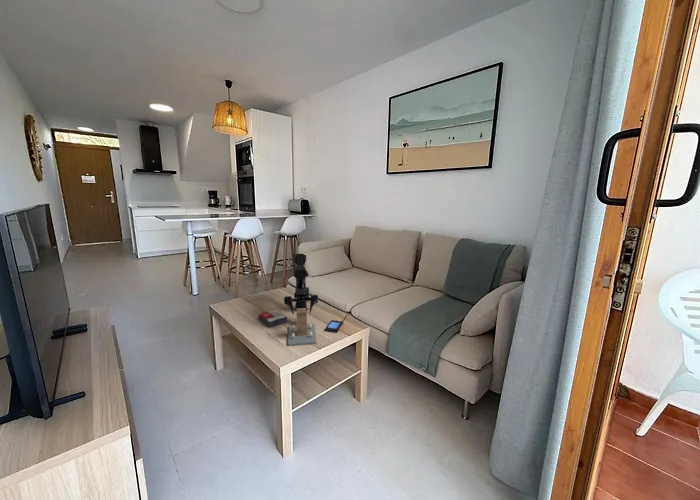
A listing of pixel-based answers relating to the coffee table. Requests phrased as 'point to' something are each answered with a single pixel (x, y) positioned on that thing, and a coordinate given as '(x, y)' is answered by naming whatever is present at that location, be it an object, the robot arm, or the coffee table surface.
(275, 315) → the grey and red box
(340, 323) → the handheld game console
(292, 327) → the plate
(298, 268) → the robot arm
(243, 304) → the coffee table surface
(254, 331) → the coffee table surface
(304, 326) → the walnut block
